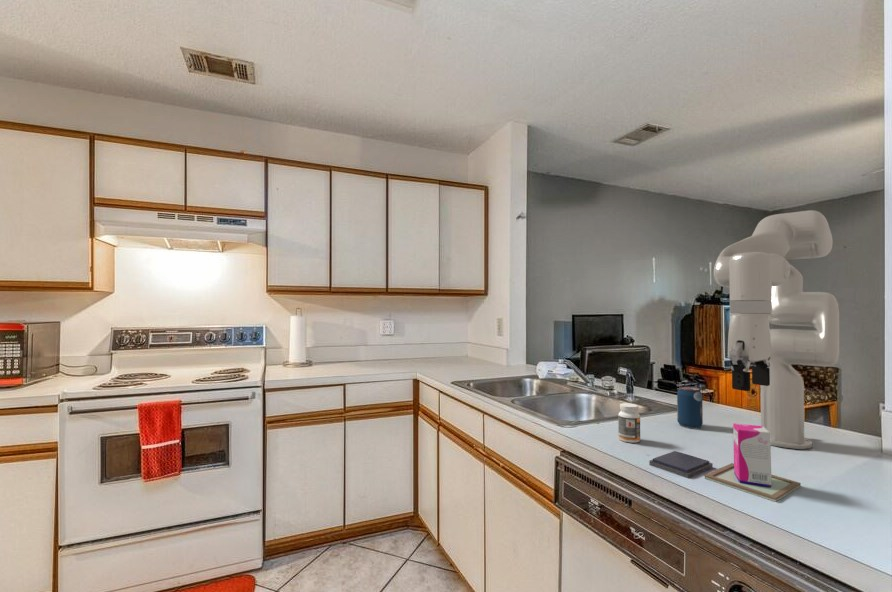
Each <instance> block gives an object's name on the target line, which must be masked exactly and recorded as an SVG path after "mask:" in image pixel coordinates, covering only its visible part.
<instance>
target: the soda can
mask: <svg viewBox="0 0 892 592" xmlns="http://www.w3.org/2000/svg"><path fill="white" fill-rule="evenodd" d="M676 393H677V394H676V402H677V403H676V404H677V405H676V407H677V408H676V409H677V410H676V412H677V413H676V414H677V415H676V416H677V418H676V419H677V420H676V421H677V423H678V424H679V426H680V427H683V428H686V429H692V428H693V429H694V428H698V429H700V428H701V427H702V426H703V423H704V421H703V418H704V417H703V415H704V414H703V393H702V391H701V388H699V387H694V386H690V385H689V386H688V385H687V386H686V385H685V386H684V385H683V386H682V385H681V386H679V389H678V390H677V392H676ZM694 430H695V429H694Z"/></svg>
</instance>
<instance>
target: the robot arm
mask: <svg viewBox="0 0 892 592" xmlns="http://www.w3.org/2000/svg"><path fill="white" fill-rule="evenodd" d="M833 242H834V241H833V235H832V231H831V229H830V224H829V222H828V220H827V218H826V216H825V215H823V213H821V211H817V210H812V209H811V210H808V209H807V210H801V211H795V212H793V211H792V212H786V213H785V212H784V213H783V212H782V213H777V214H771V215H767V216H766V217H764V218H763V219H761V220H760V221H759V222H758V223H757V225H756V227H755V228H754V230H753V232H752V235H751V236H747V237H746V238H743V239H741V240H739V241H737V242H734V243H731V244H729V245H727V246H726V247H725V248H723V249H722V251H721V252H720V253H719V255H718V257H717V258H716V261H715V264H714V267H713V278H714V280H715V282H716V284H717V285H718V286H720V287H723V288H729V316H730V319H729V325H728V337H727V359H729V363H730V365H731V367H730V370H731V388H732V390H737V391H743V392H750V391H751V383H752V385H757V386H758V385H759V386H760V426H763V427H764V428H765V429H766V430H768V431H769V432H770V444H771V446H775V447H779V448H786V449H791V450H792V449H793V450H807V449H811V448H812V447H813V442H812V441H811V440H810V439H808V438H805V384H804V379H803V377H802V376H801V374H800V373H799V372H798V370H796V369H795V368H794V367H793V365H800V366H813V367H833V366H834V365H836V364H837V363H838V361H839V358H840V357H839V356H840V310H839V302H838V300H837V298H836V297H835V295H833V294H831V293H829V292H824V291H804V289H803V287H804V285H803V284H804V277H803V275H802V274H801V272H800V271H799V270H798V269H797V268H796V267H794V265H792V264H790V262H789V261H788V260H802V259H803V260H804V259H817V258H818V259H819V258H823V257H827V256H828V254H830V253H831V251H832V249H833ZM770 324H772V325H777V326H786V327H787V326H790V327H791V326H792V327H813V328H815V329H816V330H815V329H814V330H813V329H812V330H811V329H793V328H791V329H790V328H770ZM751 363H752V364H753V365H752V366H751ZM750 366H751V372H750V371H749V369H750Z"/></svg>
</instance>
